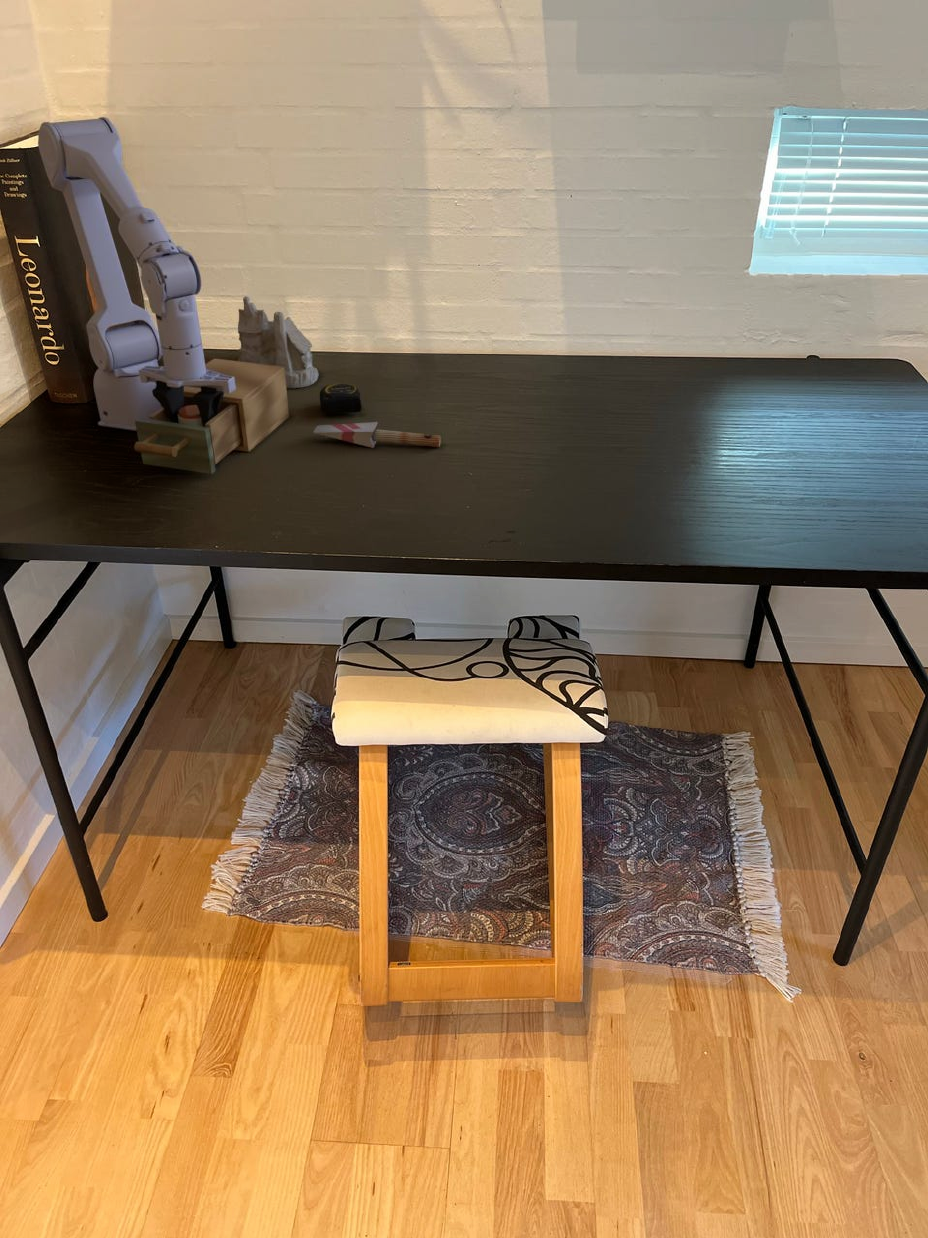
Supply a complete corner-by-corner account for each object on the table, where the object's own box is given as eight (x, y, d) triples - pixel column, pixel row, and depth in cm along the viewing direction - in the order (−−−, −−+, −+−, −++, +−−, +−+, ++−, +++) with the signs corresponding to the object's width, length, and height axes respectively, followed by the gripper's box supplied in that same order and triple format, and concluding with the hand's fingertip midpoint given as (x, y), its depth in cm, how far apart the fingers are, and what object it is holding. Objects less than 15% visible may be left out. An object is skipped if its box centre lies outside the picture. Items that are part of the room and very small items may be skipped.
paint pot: (191, 433, 146) (186, 402, 143) (217, 437, 145) (212, 406, 142) (176, 445, 142) (171, 413, 140) (202, 449, 141) (197, 417, 139)
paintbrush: (317, 415, 151) (442, 428, 150) (318, 431, 153) (441, 444, 151) (311, 424, 148) (438, 438, 146) (312, 441, 149) (437, 455, 148)
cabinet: (248, 452, 147) (242, 399, 142) (176, 441, 150) (167, 389, 145) (289, 416, 158) (284, 366, 154) (221, 407, 161) (214, 358, 156)
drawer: (194, 488, 135) (187, 444, 131) (124, 477, 137) (114, 433, 133) (254, 437, 149) (249, 396, 145) (189, 428, 152) (182, 387, 148)
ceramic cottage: (300, 391, 167) (292, 303, 159) (220, 382, 172) (209, 296, 165) (341, 368, 180) (335, 285, 172) (265, 360, 185) (257, 279, 177)
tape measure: (320, 419, 158) (319, 397, 156) (320, 403, 163) (319, 382, 161) (362, 417, 159) (361, 396, 156) (360, 401, 164) (359, 381, 162)
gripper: (120, 346, 134) (138, 436, 141) (213, 357, 130) (226, 449, 138) (148, 331, 139) (163, 418, 147) (237, 341, 136) (248, 430, 144)
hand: (195, 432), depth 143 cm, fingers closed on paint pot, 4 cm apart
